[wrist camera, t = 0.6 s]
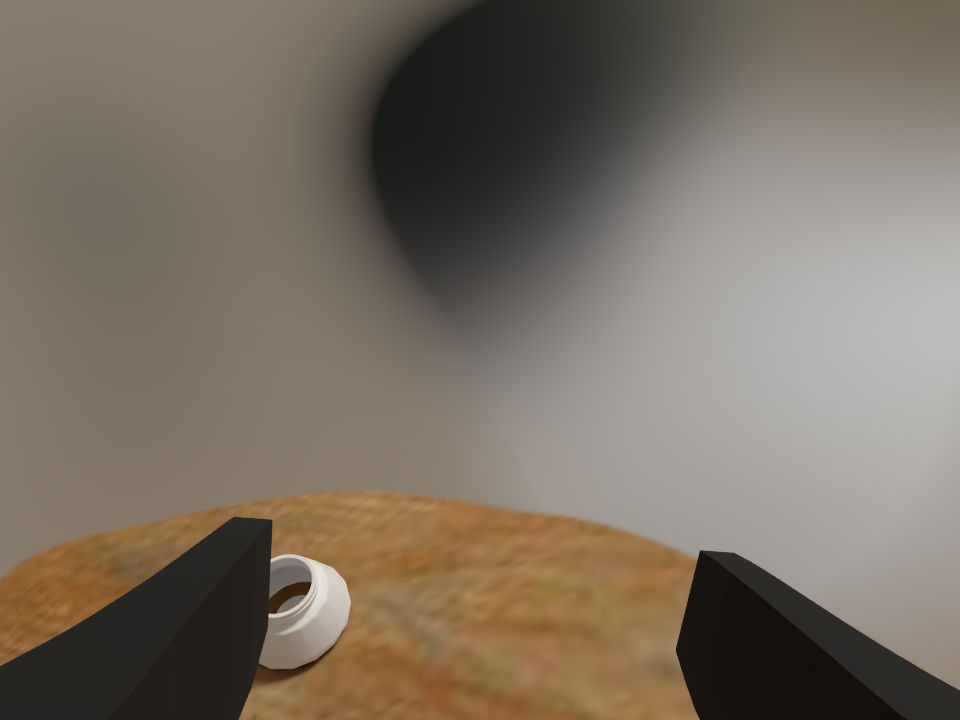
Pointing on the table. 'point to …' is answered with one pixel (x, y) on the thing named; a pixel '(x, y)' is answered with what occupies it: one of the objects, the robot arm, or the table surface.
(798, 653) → the robot arm
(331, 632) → the white jar
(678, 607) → the table surface
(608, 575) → the table surface
